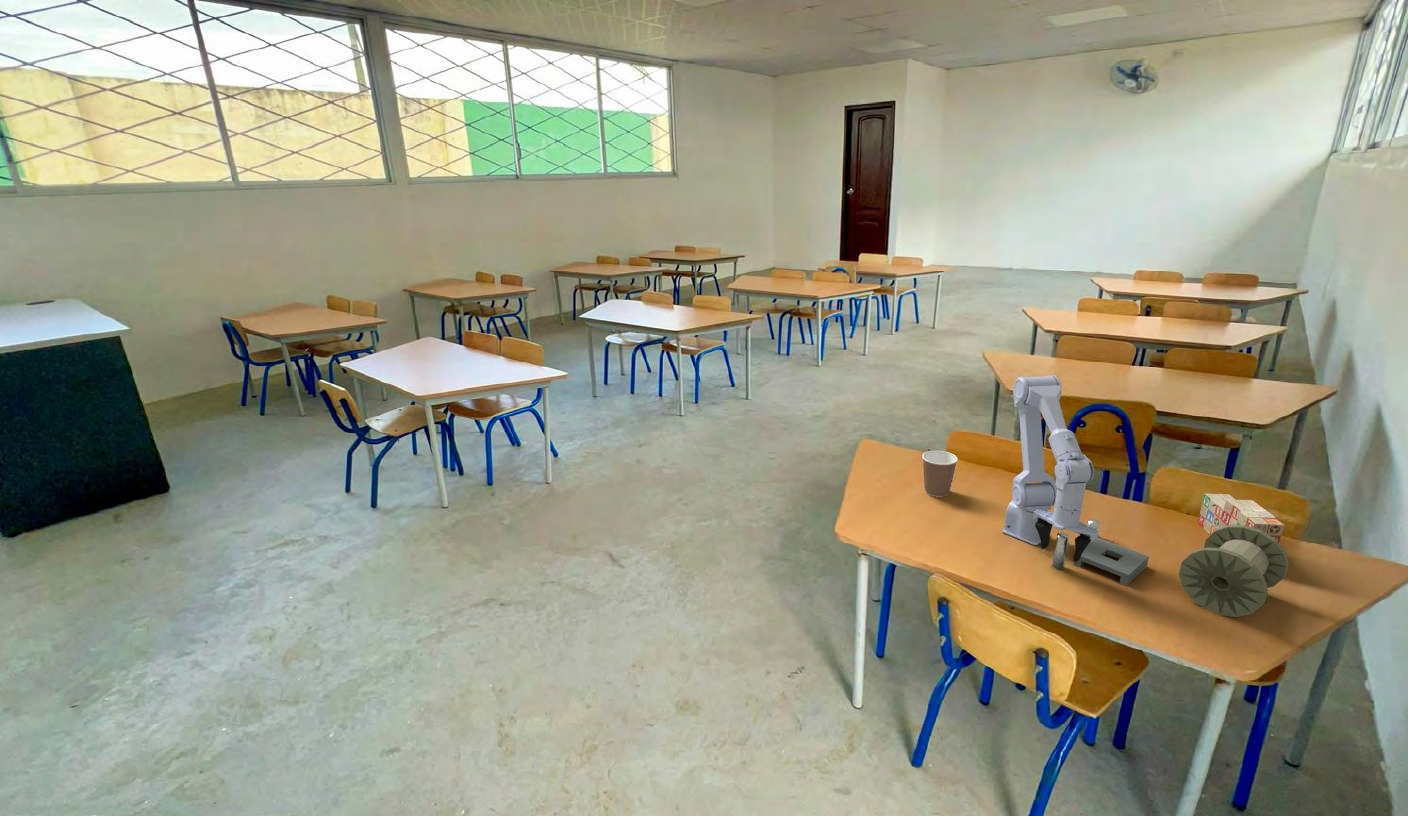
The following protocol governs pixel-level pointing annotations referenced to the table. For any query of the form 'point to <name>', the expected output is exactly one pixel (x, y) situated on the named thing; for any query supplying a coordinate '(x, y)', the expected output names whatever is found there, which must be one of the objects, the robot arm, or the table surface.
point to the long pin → (1060, 551)
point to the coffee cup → (938, 472)
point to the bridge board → (1124, 567)
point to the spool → (1234, 570)
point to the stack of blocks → (1237, 515)
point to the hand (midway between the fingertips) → (1060, 553)
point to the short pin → (1093, 524)
